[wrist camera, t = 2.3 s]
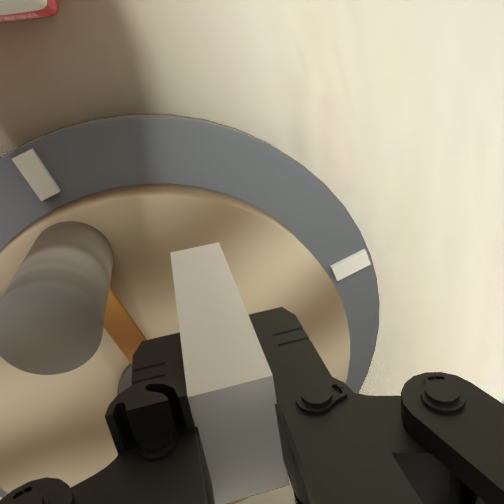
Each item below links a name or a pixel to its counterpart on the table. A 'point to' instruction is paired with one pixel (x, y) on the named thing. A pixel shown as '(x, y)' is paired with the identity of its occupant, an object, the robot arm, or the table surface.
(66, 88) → the table surface
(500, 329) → the table surface
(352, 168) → the table surface
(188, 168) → the dial plate
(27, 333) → the dial
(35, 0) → the ink box
